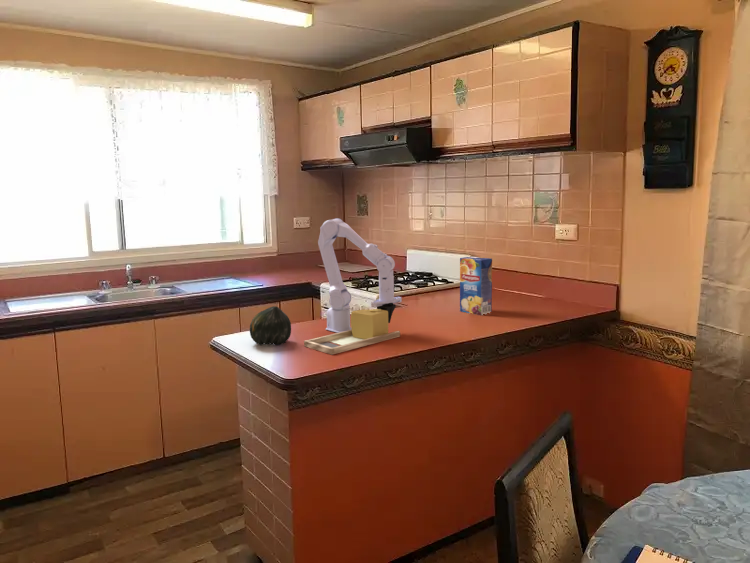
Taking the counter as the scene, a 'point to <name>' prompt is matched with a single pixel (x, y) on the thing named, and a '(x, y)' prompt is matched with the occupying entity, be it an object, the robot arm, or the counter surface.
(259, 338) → the squash
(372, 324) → the cheese
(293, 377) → the counter surface
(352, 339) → the pad
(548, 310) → the counter surface
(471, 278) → the juice carton
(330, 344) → the pad
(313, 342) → the lane rails
